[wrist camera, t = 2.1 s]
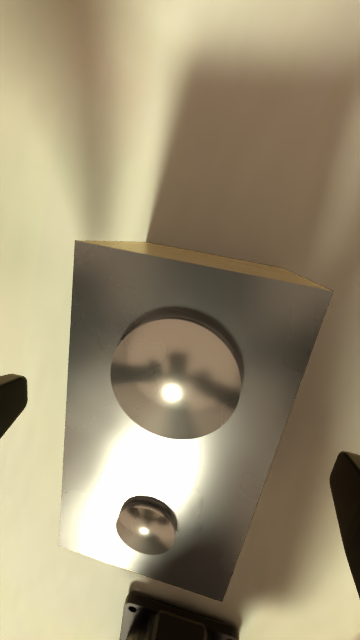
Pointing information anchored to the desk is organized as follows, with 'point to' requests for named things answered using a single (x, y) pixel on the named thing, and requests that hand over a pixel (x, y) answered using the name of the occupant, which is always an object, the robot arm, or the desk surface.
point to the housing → (177, 404)
